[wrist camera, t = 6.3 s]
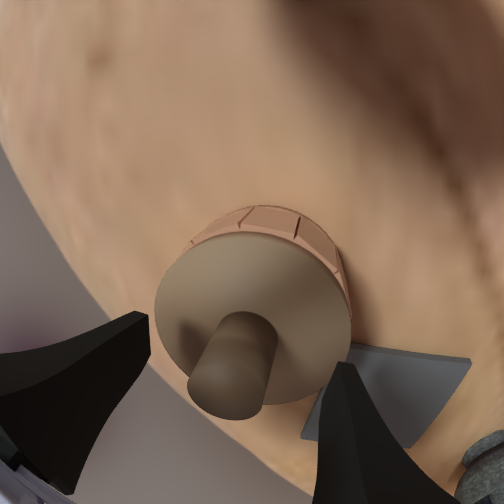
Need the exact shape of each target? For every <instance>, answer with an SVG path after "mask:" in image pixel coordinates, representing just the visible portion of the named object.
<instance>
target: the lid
mask: <svg viewBox="0 0 504 504" xmlns="http://www.w3.org/2000/svg"><path fill="white" fill-rule="evenodd" d="M154 311H155V322H156V326H157V331H158V333H159V336H160V339H161V341H162V343H163V345H164V347H165V349H166V351H167V352H168V354H169V356H170V357H171V359H172V360H173V361H174V362H175V363H176V365H177V366H178V367H179V368H180V369H181V370H182V371H183V372H184V373H185V374H186V375H187V376H188V377H190V378H189V380H188V383H187V389H188V393H189V395H190V397H191V399H192V400H193V401H194V402H195V403H196V405H198V406H199V407H200V408H201V409H203V410H204V411H206V412H207V413H209V414H211V415H213V416H216V417H219V418H222V419H227V420H245V419H249V418H251V417H253V416H255V415H256V414H257V413H259V411H260V410H261V408H262V405H275V404H283V403H289V402H292V401H296V400H299V399H302V398H304V397H307V396H309V395H311V394H313V393H315V392H317V391H318V390H320V389H321V388H322V387H324V386H325V385H326V384H328V383H329V381H330V379H331V377H332V374H333V372H334V369H335V367H336V364H337V362H338V361H340V362H345V360H346V357H347V354H348V352H349V348H350V342H351V323H350V315H349V308H348V303H347V300H346V297H345V294H344V291H343V289H342V287H341V285H340V283H339V281H338V280H337V279H336V277H335V276H334V274H333V273H332V271H331V270H330V269H329V268H328V267H327V266H326V265H325V264H324V263H323V262H322V261H321V260H320V259H319V258H318V257H316V256H315V255H314V254H313V253H311V252H310V251H308V250H307V249H305V248H303V247H302V246H300V245H299V244H296V243H294V242H292V241H290V240H288V239H285V238H282V237H279V236H275V235H272V234H267V233H261V232H251V231H239V232H229V233H224V234H220V235H216V236H213V237H211V238H208V239H206V240H203V241H202V242H200V243H198V244H196V245H195V246H193V247H192V248H191V249H189V250H188V251H187V252H186V253H184V254H183V255H182V256H181V257H180V258H179V259H178V260H177V261H175V263H174V264H173V265H172V266H171V267H170V268H169V269H168V270H167V272H166V273H165V275H164V277H163V278H162V280H161V282H160V285H159V287H158V290H157V294H156V298H155V308H154Z"/></svg>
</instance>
